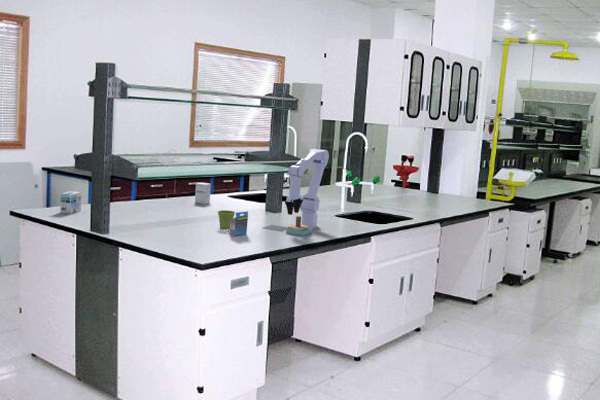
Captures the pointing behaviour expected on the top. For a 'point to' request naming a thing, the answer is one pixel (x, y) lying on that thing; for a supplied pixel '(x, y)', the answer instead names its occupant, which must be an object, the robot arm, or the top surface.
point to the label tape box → (239, 224)
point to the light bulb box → (70, 202)
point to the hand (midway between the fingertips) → (293, 213)
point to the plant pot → (225, 218)
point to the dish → (299, 232)
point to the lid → (297, 225)
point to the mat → (275, 228)
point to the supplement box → (202, 193)
